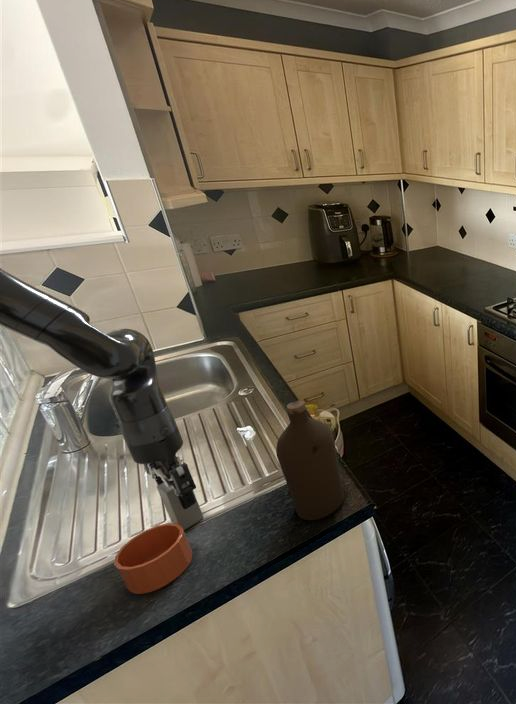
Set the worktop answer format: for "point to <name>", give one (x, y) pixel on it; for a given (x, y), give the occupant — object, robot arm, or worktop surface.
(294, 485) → the olive oil
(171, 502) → the block
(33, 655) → the worktop surface
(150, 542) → the bowl
